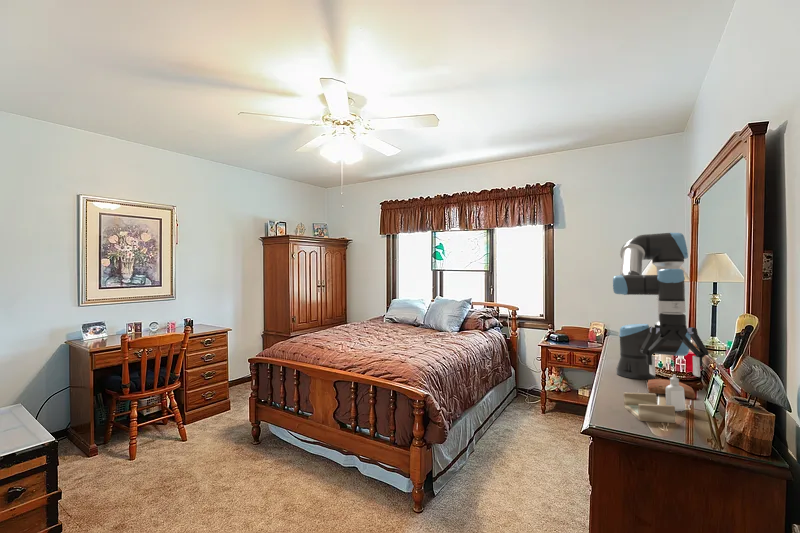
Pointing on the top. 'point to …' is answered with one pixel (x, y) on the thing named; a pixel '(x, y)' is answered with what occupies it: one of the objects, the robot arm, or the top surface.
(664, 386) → the ceramic shard
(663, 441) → the top surface
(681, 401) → the eye dropper bottle
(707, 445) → the top surface
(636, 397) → the rack
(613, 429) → the top surface
